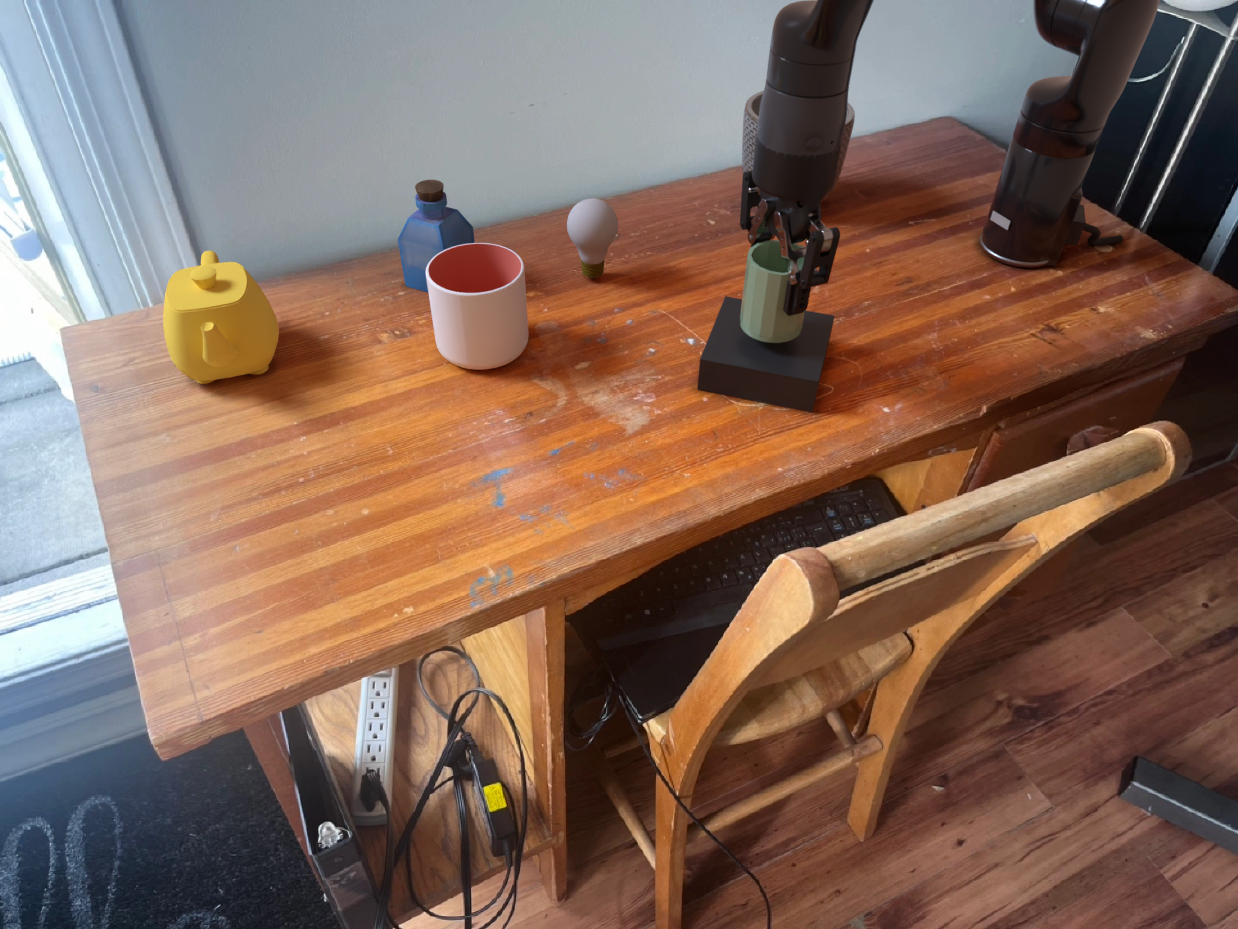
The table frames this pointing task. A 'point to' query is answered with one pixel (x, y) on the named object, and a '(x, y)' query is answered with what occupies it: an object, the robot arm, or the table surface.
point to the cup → (478, 305)
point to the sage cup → (768, 295)
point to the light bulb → (592, 233)
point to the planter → (751, 132)
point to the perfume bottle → (430, 232)
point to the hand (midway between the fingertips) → (775, 293)
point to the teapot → (218, 321)
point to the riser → (765, 361)
